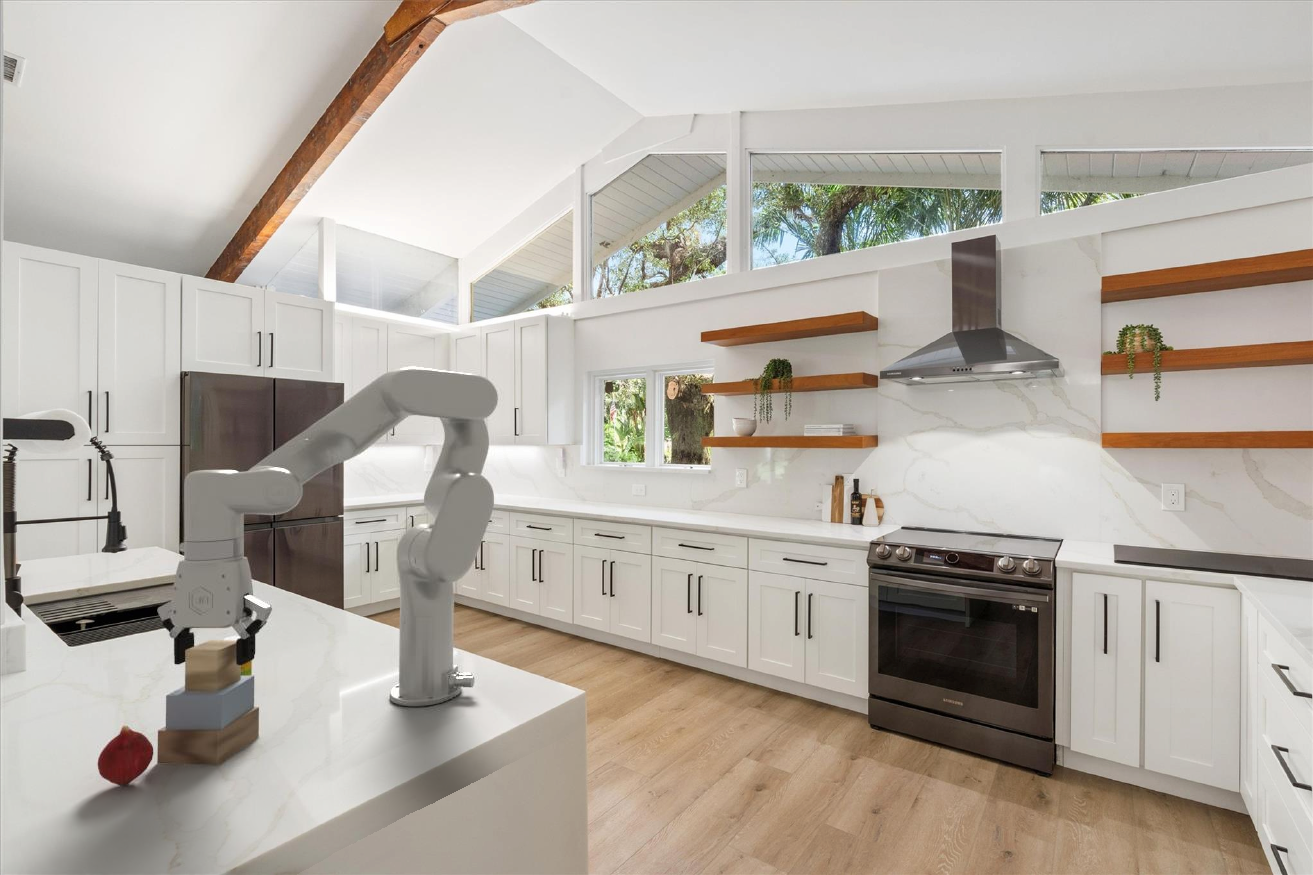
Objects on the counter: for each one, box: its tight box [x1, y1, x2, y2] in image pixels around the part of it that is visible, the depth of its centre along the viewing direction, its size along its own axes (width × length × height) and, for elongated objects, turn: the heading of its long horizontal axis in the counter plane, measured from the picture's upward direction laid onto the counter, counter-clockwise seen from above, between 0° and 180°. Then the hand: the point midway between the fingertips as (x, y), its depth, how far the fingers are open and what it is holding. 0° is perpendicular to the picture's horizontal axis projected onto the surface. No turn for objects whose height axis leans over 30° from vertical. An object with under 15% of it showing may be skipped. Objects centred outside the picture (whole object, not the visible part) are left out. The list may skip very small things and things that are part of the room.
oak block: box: [184, 639, 241, 691], centre depth 98 cm, size 5×5×6 cm
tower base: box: [156, 706, 260, 767], centre depth 97 cm, size 9×9×5 cm
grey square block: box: [165, 675, 255, 730], centre depth 98 cm, size 8×8×5 cm
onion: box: [97, 725, 154, 787], centre depth 87 cm, size 6×6×8 cm
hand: (214, 661), depth 98 cm, fingers open, 9 cm apart
